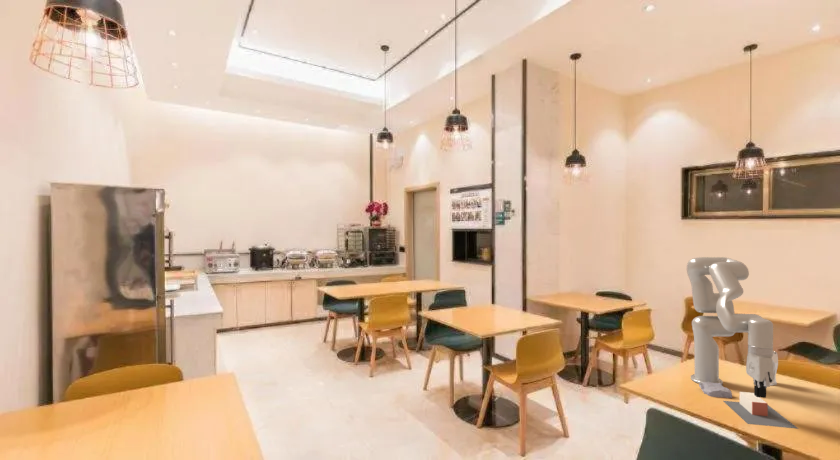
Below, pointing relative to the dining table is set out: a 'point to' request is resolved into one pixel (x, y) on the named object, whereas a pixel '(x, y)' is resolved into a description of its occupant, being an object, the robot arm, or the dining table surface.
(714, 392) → the stone block
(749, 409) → the cream block
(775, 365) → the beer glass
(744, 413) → the charcoal mat
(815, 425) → the dining table surface
